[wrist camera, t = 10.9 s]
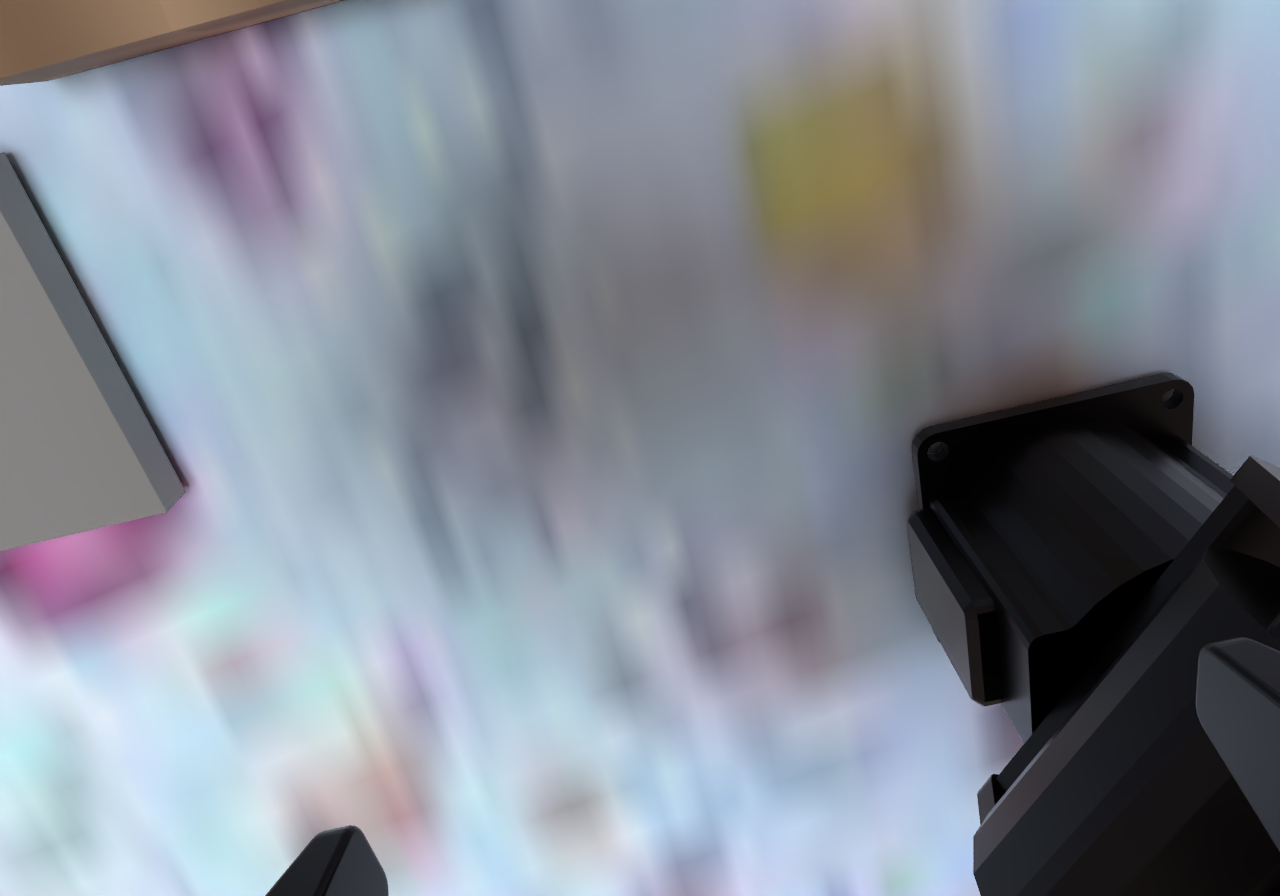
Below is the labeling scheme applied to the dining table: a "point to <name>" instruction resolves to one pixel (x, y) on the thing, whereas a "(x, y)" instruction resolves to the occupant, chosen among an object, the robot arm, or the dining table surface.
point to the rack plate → (116, 30)
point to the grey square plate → (63, 400)
